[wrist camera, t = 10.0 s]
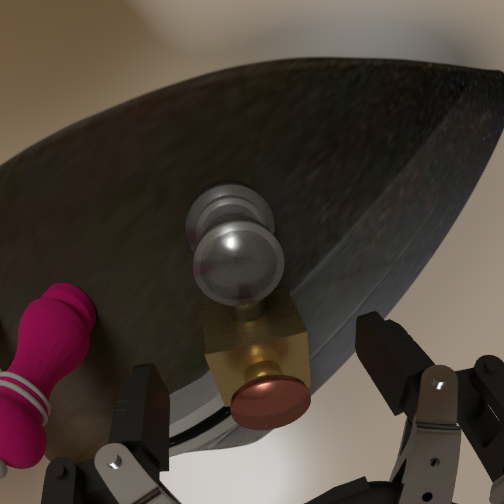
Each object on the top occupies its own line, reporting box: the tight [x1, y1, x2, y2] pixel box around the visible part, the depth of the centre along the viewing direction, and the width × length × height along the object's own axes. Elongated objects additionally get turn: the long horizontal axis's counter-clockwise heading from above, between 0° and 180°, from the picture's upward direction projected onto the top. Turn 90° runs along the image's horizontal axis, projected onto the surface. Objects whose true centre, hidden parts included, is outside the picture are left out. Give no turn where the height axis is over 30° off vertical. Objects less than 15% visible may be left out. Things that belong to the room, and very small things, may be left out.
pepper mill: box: [0, 283, 96, 478], centre depth 17 cm, size 7×7×20 cm
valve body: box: [185, 181, 311, 430], centre depth 23 cm, size 8×18×11 cm, turn 10°
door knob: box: [193, 195, 284, 306], centre depth 20 cm, size 5×5×7 cm
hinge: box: [169, 373, 237, 457], centre depth 29 cm, size 17×5×10 cm, turn 125°
